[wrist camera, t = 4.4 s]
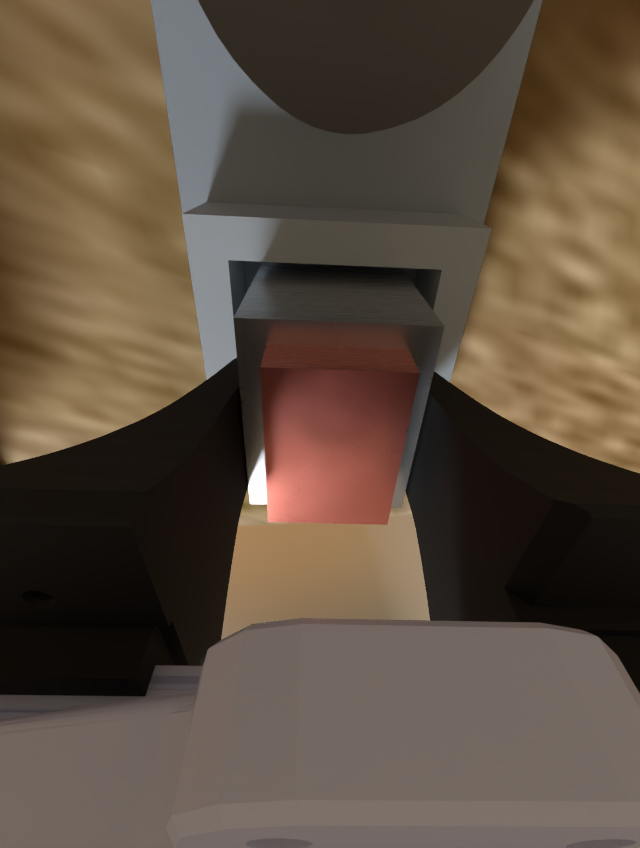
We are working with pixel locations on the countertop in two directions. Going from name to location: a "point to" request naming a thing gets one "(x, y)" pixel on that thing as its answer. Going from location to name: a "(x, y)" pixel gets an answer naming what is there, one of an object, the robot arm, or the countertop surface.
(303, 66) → the wheel
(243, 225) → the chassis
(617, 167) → the countertop surface
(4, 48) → the countertop surface
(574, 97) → the countertop surface
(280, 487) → the red and grey block
